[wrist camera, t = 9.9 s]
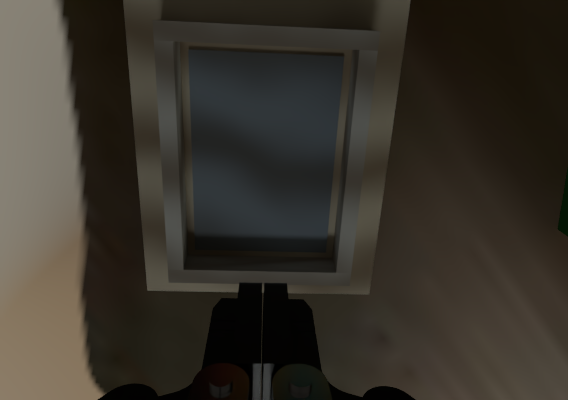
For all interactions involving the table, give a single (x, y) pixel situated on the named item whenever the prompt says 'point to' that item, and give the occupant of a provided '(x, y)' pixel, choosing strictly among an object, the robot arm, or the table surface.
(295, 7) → the window
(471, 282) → the table surface
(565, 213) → the hardback book
